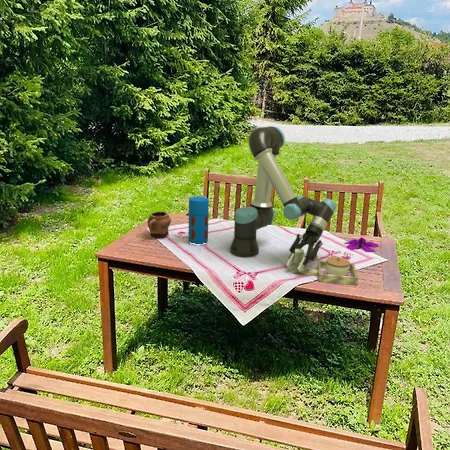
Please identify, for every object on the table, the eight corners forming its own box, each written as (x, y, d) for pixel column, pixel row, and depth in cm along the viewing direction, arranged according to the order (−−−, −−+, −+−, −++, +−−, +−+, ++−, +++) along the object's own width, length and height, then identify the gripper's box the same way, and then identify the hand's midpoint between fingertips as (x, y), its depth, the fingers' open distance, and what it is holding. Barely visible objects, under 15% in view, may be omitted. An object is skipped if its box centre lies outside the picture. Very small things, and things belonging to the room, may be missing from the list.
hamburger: (295, 257, 226) (295, 248, 225) (308, 252, 235) (309, 242, 233) (314, 264, 218) (315, 254, 217) (327, 258, 226) (328, 248, 225)
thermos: (200, 247, 236) (201, 202, 228) (184, 243, 241) (184, 199, 234) (211, 241, 245) (212, 198, 237) (196, 237, 250) (196, 195, 242)
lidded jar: (321, 271, 208) (323, 253, 206) (343, 271, 209) (345, 253, 206) (328, 281, 198) (330, 262, 195) (351, 281, 199) (354, 262, 196)
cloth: (380, 244, 250) (381, 234, 248) (379, 255, 233) (381, 244, 231) (340, 239, 257) (341, 229, 255) (337, 249, 240) (338, 238, 238)
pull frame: (291, 279, 199) (293, 256, 195) (292, 265, 215) (294, 244, 211) (357, 285, 194) (360, 262, 191) (353, 270, 210) (355, 249, 207)
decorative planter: (161, 244, 239) (160, 219, 234) (141, 241, 242) (140, 217, 238) (175, 233, 257) (175, 210, 253) (156, 230, 260) (155, 208, 256)
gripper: (335, 236, 206) (313, 278, 199) (302, 227, 218) (280, 266, 212) (330, 228, 200) (307, 270, 194) (297, 219, 213) (274, 258, 206)
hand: (293, 268), depth 203 cm, fingers closed on pull frame, 6 cm apart
